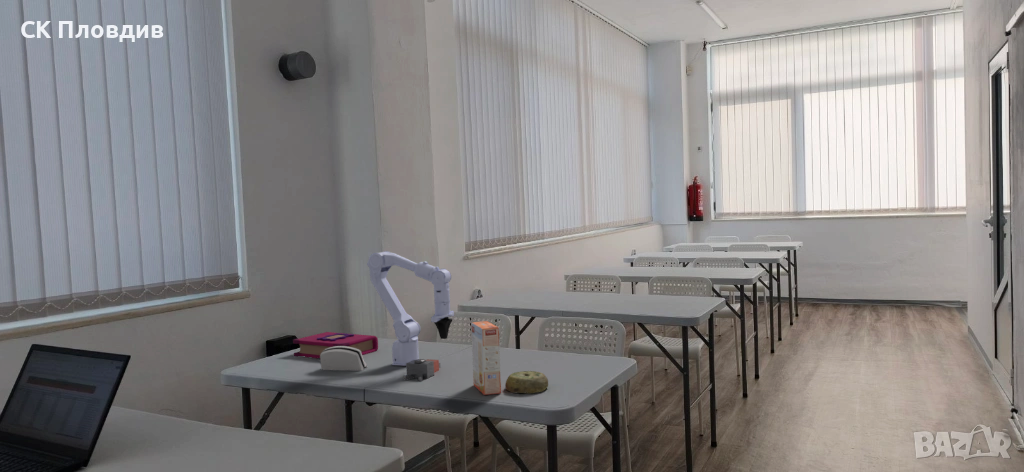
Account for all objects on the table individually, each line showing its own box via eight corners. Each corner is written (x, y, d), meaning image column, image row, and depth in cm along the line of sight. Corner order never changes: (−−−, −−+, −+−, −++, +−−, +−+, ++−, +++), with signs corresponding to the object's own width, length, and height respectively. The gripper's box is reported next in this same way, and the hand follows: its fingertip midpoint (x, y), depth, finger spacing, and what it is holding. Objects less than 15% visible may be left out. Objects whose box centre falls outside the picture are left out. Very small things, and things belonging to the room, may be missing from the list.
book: (329, 347, 305) (329, 329, 305) (378, 351, 291) (377, 333, 290) (292, 356, 287) (291, 338, 287) (342, 362, 273) (341, 343, 272)
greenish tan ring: (557, 389, 220) (556, 373, 220) (522, 397, 212) (522, 381, 212) (531, 381, 231) (530, 366, 231) (497, 389, 223) (496, 373, 223)
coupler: (429, 366, 257) (428, 351, 257) (448, 368, 254) (447, 352, 254) (402, 379, 239) (401, 363, 239) (422, 381, 236) (421, 364, 236)
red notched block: (418, 374, 246) (417, 363, 246) (427, 370, 253) (427, 359, 252) (429, 375, 244) (429, 364, 244) (439, 370, 251) (438, 359, 251)
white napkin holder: (368, 367, 260) (363, 344, 257) (363, 374, 256) (358, 351, 252) (327, 366, 264) (321, 343, 260) (321, 373, 260) (316, 350, 256)
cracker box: (502, 393, 216) (499, 326, 215) (483, 396, 215) (480, 328, 214) (490, 383, 230) (488, 320, 229) (473, 385, 228) (470, 321, 227)
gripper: (442, 305, 250) (444, 342, 250) (460, 299, 263) (462, 335, 264) (425, 304, 252) (427, 342, 253) (443, 299, 266) (445, 334, 266)
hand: (443, 338), depth 259 cm, fingers closed
